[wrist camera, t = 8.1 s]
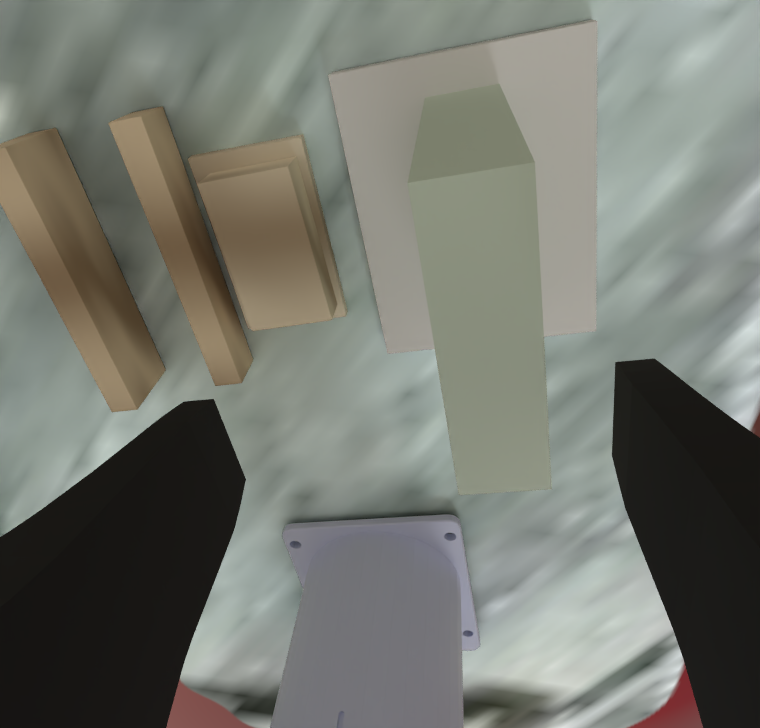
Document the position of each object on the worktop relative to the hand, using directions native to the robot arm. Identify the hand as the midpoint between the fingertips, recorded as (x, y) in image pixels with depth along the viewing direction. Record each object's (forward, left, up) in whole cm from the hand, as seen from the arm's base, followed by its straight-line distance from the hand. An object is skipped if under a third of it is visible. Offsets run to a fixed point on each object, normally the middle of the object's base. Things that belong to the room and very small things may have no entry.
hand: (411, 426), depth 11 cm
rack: (+1, +9, -10) cm, 14 cm away
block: (+1, -2, -9) cm, 9 cm away
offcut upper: (+1, +5, -9) cm, 11 cm away
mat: (+1, -2, -10) cm, 10 cm away
